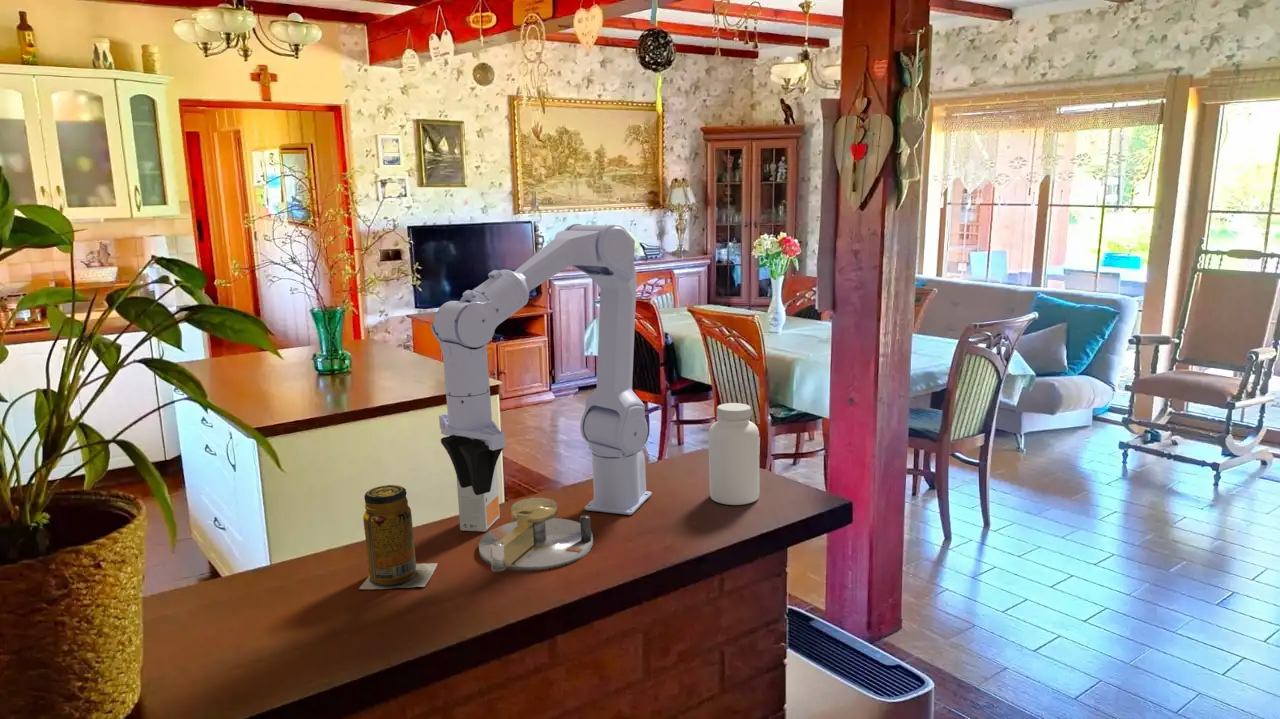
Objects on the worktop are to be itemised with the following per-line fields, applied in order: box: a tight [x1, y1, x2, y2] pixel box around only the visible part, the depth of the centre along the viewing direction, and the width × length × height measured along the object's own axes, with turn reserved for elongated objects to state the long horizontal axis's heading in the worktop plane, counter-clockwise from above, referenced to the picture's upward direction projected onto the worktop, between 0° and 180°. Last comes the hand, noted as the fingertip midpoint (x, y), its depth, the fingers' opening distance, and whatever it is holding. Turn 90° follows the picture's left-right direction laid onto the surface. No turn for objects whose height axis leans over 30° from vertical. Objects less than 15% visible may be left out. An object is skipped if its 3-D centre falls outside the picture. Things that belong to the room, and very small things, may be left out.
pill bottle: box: [708, 402, 760, 506], centre depth 138 cm, size 8×8×15 cm
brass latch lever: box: [490, 497, 558, 573], centre depth 119 cm, size 15×6×5 cm, turn 159°
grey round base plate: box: [478, 514, 594, 572], centre depth 123 cm, size 16×16×4 cm
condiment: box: [358, 484, 439, 590], centre depth 114 cm, size 7×8×12 cm
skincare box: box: [455, 463, 501, 533], centre depth 131 cm, size 6×4×12 cm
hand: (475, 489), depth 118 cm, fingers open, 3 cm apart
